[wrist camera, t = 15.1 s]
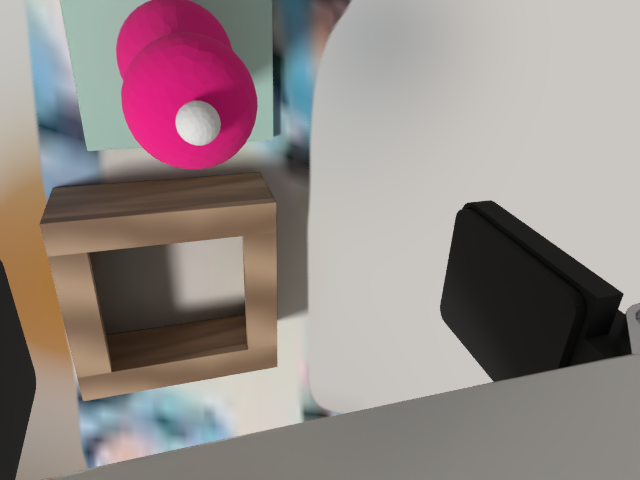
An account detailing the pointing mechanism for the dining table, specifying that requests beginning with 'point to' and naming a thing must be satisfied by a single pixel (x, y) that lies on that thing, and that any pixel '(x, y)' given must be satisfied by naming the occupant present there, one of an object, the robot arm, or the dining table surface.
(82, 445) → the dining table surface
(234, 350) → the box
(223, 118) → the pepper mill
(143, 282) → the dining table surface
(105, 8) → the green mat
